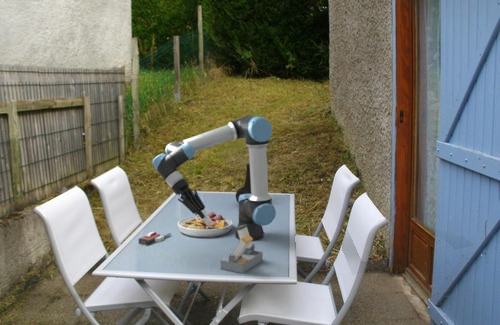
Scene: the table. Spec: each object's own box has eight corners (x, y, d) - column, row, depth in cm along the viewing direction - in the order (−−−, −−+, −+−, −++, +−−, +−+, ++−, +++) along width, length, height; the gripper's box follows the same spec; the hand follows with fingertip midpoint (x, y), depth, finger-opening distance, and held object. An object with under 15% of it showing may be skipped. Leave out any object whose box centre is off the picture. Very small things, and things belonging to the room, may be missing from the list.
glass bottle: (232, 207, 347) (232, 165, 343) (240, 201, 364) (240, 161, 359) (258, 209, 342) (258, 166, 337) (265, 203, 359) (266, 162, 354)
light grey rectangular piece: (243, 253, 241) (235, 228, 242) (249, 249, 246) (241, 225, 246) (248, 252, 240) (241, 226, 240) (254, 248, 245) (246, 224, 245)
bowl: (224, 240, 275) (224, 226, 273) (169, 237, 281) (169, 222, 279) (237, 225, 304) (237, 212, 303) (187, 222, 310) (187, 209, 309)
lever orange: (229, 257, 231) (242, 237, 227) (235, 254, 236) (248, 234, 231) (233, 261, 230) (247, 242, 226) (239, 258, 235) (253, 238, 230)
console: (220, 268, 233) (220, 253, 232) (241, 256, 250) (241, 242, 249) (242, 273, 228) (242, 257, 227) (262, 260, 245) (262, 245, 244)
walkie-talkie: (150, 247, 264) (172, 236, 282) (150, 238, 263) (172, 228, 281) (136, 244, 267) (158, 234, 285) (136, 236, 266) (158, 226, 285)
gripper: (181, 185, 249) (212, 224, 245) (164, 191, 238) (196, 231, 233) (190, 175, 246) (221, 214, 241) (173, 180, 235) (206, 221, 230)
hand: (209, 222), depth 237 cm, fingers closed
